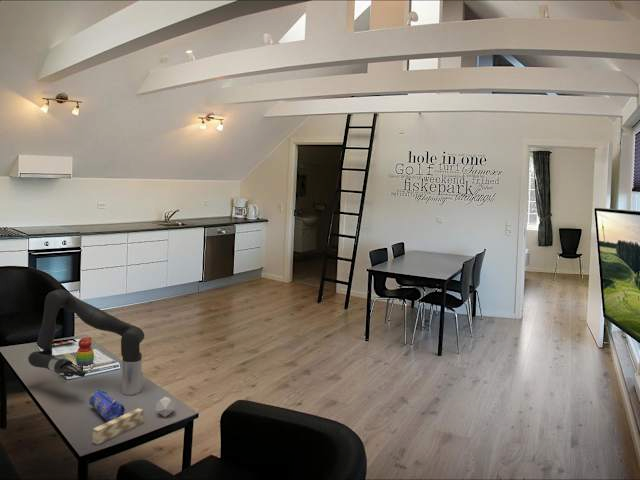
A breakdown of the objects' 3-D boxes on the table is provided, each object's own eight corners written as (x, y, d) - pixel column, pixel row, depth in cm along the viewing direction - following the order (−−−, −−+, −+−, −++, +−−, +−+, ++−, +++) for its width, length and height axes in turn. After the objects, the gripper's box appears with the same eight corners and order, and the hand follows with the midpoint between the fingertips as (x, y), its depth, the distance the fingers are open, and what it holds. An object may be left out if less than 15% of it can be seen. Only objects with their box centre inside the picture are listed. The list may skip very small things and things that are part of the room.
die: (162, 410, 247) (151, 398, 242) (178, 402, 247) (168, 390, 242) (162, 423, 240) (151, 411, 235) (178, 415, 241) (168, 402, 235)
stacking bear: (90, 363, 298) (91, 333, 296) (97, 368, 291) (98, 338, 289) (71, 367, 290) (71, 337, 288) (78, 372, 283) (78, 341, 281)
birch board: (138, 420, 234) (138, 408, 233) (143, 422, 233) (143, 409, 232) (92, 442, 213) (92, 428, 212) (97, 444, 212) (97, 430, 211)
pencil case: (125, 421, 233) (126, 401, 232) (107, 426, 227) (107, 406, 226) (105, 404, 249) (106, 385, 247) (87, 409, 242) (87, 389, 241)
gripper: (48, 362, 246) (71, 371, 237) (73, 355, 257) (95, 363, 249) (47, 377, 246) (70, 386, 238) (72, 369, 258) (95, 378, 250)
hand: (83, 374), depth 244 cm, fingers closed
